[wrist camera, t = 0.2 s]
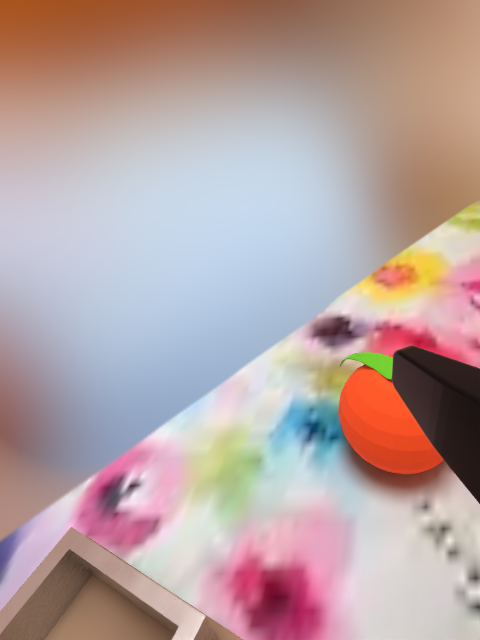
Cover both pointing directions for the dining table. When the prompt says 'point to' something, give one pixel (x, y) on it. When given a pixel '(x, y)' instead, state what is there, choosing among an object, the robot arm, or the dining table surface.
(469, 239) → the dining table surface
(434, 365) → the robot arm
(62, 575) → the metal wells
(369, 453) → the clementine
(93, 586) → the socket board
